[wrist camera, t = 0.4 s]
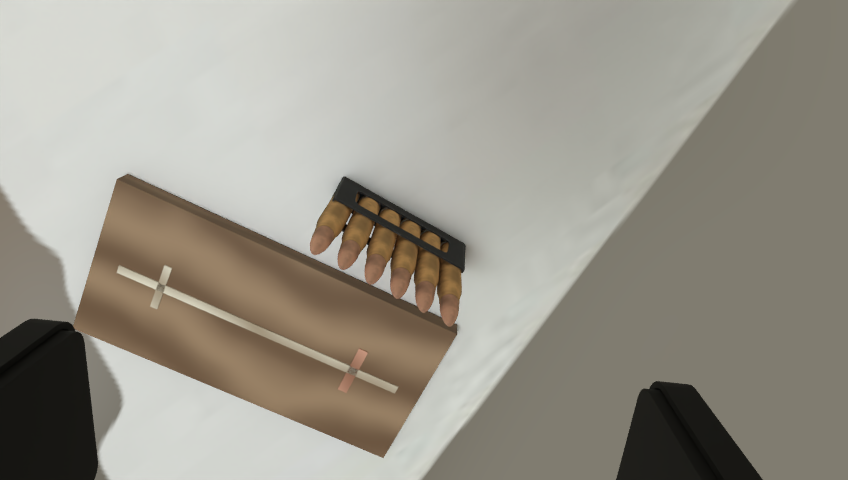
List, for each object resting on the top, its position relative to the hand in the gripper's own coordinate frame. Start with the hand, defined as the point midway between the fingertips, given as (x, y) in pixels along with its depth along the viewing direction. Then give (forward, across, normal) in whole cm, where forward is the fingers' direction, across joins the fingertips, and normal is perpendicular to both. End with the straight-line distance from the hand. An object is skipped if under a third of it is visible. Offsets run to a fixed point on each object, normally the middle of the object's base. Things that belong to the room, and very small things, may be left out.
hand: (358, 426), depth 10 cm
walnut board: (+34, +11, +17) cm, 39 cm away
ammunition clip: (+34, +1, +7) cm, 34 cm away
